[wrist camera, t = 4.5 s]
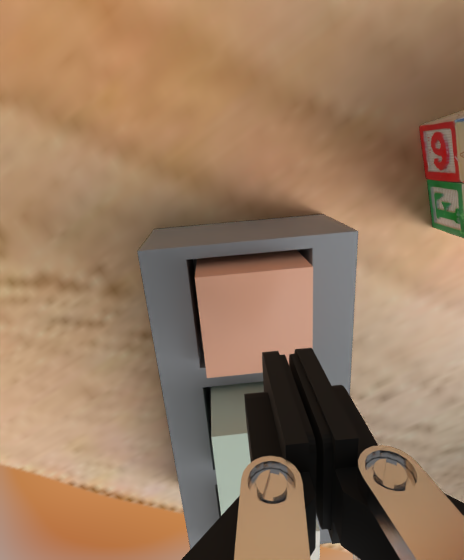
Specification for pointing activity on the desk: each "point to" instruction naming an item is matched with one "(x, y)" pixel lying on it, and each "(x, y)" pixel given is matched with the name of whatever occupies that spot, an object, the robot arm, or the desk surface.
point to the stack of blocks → (445, 171)
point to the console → (188, 338)
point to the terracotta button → (253, 309)
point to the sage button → (230, 438)
